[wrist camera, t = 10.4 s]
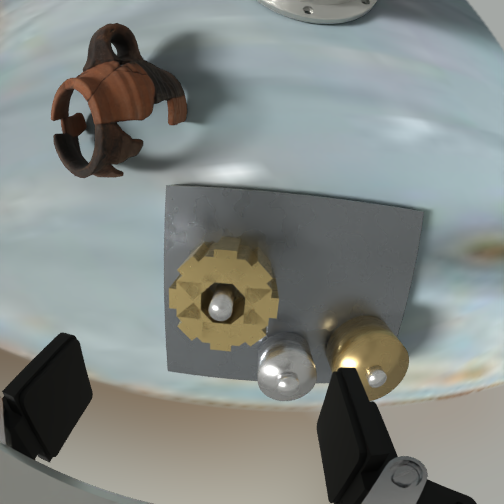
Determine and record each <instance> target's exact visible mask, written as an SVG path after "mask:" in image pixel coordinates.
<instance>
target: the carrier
mask: <svg viewBox="0 0 504 504" xmlns="http://www.w3.org/2000/svg"><path fill="white" fill-rule="evenodd" d="M423 215H424V212H422V211H418V210H414V209H408V208H401V207H395V206H388V205H382V204H375V203H368V202H361V201H353V200H345V199H338V198H329V197H321V196H312V195H303V194H293V193H283V192H272V191H261V190H248V189H235V188H221V187H204V186H185V185H166V202H165V231H164V302H165V331H166V350H167V365H168V371H171V372H178V373H185V374H192V375H200V376H208V377H217V378H227V379H238V380H251V381H258V385H259V388H260V390H261V391H262V392H263V393H264V394H265V395H266V396H268V397H270V398H272V399H275V400H279V401H290V400H295V399H298V398H301V397H303V396H304V395H306V394H307V393H308V392H310V391H311V390H312V388H313V387H314V385H315V383H330V379H331V376H332V373H333V372H334V371H337V370H338V368H340V367H355V368H356V370H357V372H358V374H359V377H360V379H361V382H362V384H363V386H364V389H365V391H366V394H367V396H368V399H369V401H372V400H376V399H378V398H381V397H383V396H385V395H386V394H388V393H389V392H391V391H392V390H393V389H394V388H395V387H396V386H397V385H398V384H399V383H400V382H401V381H402V379H403V378H404V376H405V374H406V372H407V369H408V365H409V356H408V352H407V350H406V348H405V347H404V346H403V345H402V343H401V342H400V341H399V340H398V338H397V336H398V332H399V329H400V325H401V322H402V318H403V314H404V311H405V307H406V303H407V299H408V295H409V290H410V286H411V282H412V277H413V272H414V268H415V263H416V258H417V252H418V247H419V241H420V235H421V228H422V222H423ZM221 237H232V238H241V244H240V245H247V246H249V247H250V249H251V250H252V251H254V250H255V249H256V248H257V247H259V249H260V250H261V251H262V252H263V253H264V254H265V256H266V257H267V258H268V259H269V260H270V263H271V269H272V276H273V278H276V283H277V289H278V295H279V304H278V312H277V318H269V321H268V326H266V336H264V337H263V338H262V339H260V340H259V341H257V342H256V343H255V344H253V345H252V346H249V345H248V344H247V343H246V342H244V343H243V344H241V345H240V346H233V345H232V346H231V351H221V350H211V349H210V343H204V342H202V341H201V340H199V339H198V338H197V337H196V338H195V339H193V340H191V339H189V338H188V337H187V336H186V335H185V334H184V333H183V332H182V331H181V330H180V329H179V328H178V324H179V322H180V319H179V318H178V317H177V309H172V308H169V288H170V286H171V285H172V284H173V282H174V281H175V280H176V279H177V277H178V276H179V275H180V273H179V272H178V271H177V269H178V268H179V267H180V266H181V265H182V263H183V262H184V261H185V260H186V259H187V258H188V257H189V255H190V254H191V253H192V252H194V251H195V250H196V249H197V248H198V247H199V246H200V245H202V244H203V243H205V244H206V245H207V246H208V247H210V246H211V245H212V244H213V243H218V242H219V240H220V239H221ZM210 289H211V290H212V292H213V293H214V295H213V298H212V300H211V303H210V306H209V314H210V316H211V317H212V318H213V319H215V320H217V321H225V320H227V319H228V318H229V317H230V316H231V313H232V308H233V303H234V301H235V300H236V299H238V298H239V297H240V296H242V295H243V294H242V293H241V292H240V291H239V290H238V289H237V288H236V287H235V286H234V285H233V284H226V283H215V282H214V283H213V284H212V285H211V286H210Z"/></svg>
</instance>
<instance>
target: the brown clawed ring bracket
mask: <svg viewBox="0 0 504 504" xmlns="http://www.w3.org/2000/svg"><path fill="white" fill-rule="evenodd" d="M111 43H112V44H113V45H114V46H115V48H116V50H117V55H116V54H115V53H114V52H113V50H112V47H111ZM74 89H76V90H78V91H79V92H80V93H81V94H82V95H83V96H84V98H85V99H86V100H87V102H88V105H89V107H90V110H91V113H92V117H93V121H94V124H95V147H94V152H93V156H92V159H91V161H90V162H89V163H88V162H87V161H86V160H85V159H84V157H83V156H82V154H81V151H80V146H79V141H78V136H79V135H80V134H81V133H82V132H83V131H84V130H85V129H86V128H87V125H86V122H85V119H84V116H83V114H82V113H76V114H75V115H73V116H69V113H68V111H69V103H70V98H71V95H72V93H73V91H74ZM164 100H167V104H168V124H169V125H177V124H178V123H181V122H184V121H185V120H186V115H187V103H186V98H185V93H184V91H183V88H182V86H181V84H180V82H179V81H178V80H177V79H176V78H175V76H173V75H172V74H171V73H169V72H167V71H165V70H162V69H160V68H158V67H156V66H155V65H153V64H151V63H148V62H147V61H145V60H144V59H143V58H142V56H141V55H140V52H139V49H138V44H137V41H136V39H135V36H134V34H133V33H132V32H131V30H130V29H129V28H127V27H126V26H124V25H121V24H118V23H115V24H107V25H105V26H104V27H102V28H100V29H99V30H97V31H96V32H95V33H94V35H93V36H92V38H91V41H90V44H89V49H88V58H87V62H86V64H85V66H84V68H83V73H81V74H80V75H78V76H77V77H76V78H70V79H67V80H66V81H65V82H63V84H62V85H61V86H60V87H59V89H58V90H57V92H56V94H55V97H54V100H53V104H52V110H51V120H53V121H55V120H59V119H61V127H62V131H63V134H55V135H54V145H55V149H56V151H57V153H58V156H59V158H60V160H61V161H62V163H63V164H64V166H65V167H66V168H67V169H68V170H69V171H70V172H71V173H72V174H74V175H75V176H78V177H80V178H86V177H88V176H90V175H95V176H97V177H120V176H123V172H122V171H119V170H117V169H115V168H114V167H113V166H112V165H111V164H118V163H122V162H124V161H125V160H127V159H128V158H130V157H134V156H136V155H137V154H138V153H139V152H140V150H141V148H142V146H143V140H141V139H132V138H131V136H129V135H128V134H127V133H125V132H124V131H123V130H122V129H121V127H120V126H119V125H118V124H117V122H119V121H128V120H144V119H145V118H147V117H148V116H150V114H151V113H152V111H153V105H154V104H157V103H159V102H161V101H164ZM68 116H69V117H68Z"/></svg>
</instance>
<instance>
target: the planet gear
mask: <svg viewBox="0 0 504 504" xmlns="http://www.w3.org/2000/svg"><path fill="white" fill-rule="evenodd" d="M240 244H241V238H232V237H221V239H220V240H219V242H218V243H213V244H212V245H211V246H210V247H208V246H207V245H206V244H205V243H203V244H202V245H200V246H199V247H198V248H197V249H196V250H195V251H194V252H192V253H191V254H190V255H189V257H188V258H187V259H186V260H185V261H184V262H183V263H182V265H181V266H180V267H179V268H178V269H177V271H178V272H179V273H180V275H179V276H178V277H177V279H176V280H175V281H174V282H173V284H172V285H171V286H170V288H169V308H172V309H177V317H178V318H179V319H180V322H179V324H178V328H179V329H180V330H181V331H182V332H183V333H184V334H185V335H186V336H187V337H188V338H189V339H191V340H193V339H195V338H196V337H197V338H198V339H199V340H201V341H202V342H204V343H210V349H211V350H221V351H231V346H232V345H233V346H240V345H241V344H243V343H244V342H246V343H247V344H248V345H249V346H252V345H253V344H255V343H256V342H257V341H259V340H260V339H262V338H263V337H264V336H266V326H268V321H269V318H277V312H278V304H279V295H278V289H277V283H276V278H273V276H272V269H271V263H270V260H269V259H268V258H267V257H266V256H265V254H264V253H263V252H262V251H261V250H260V249H259V247H257V248H256V249H255V250H254V251H252V250H251V249H250V247H249V246H247V245H240ZM214 282H215V283H226V284H233V285H234V286H235V287H236V288H237V289H238V290H239V291H240V292H241V293H242V294H243V295H242V296H240V297H239V298H238V299H236V300H235V301H234V303H233V308H232V313H231V316H230V317H229V318H228V319H227V320H225V321H217V320H215V319H213V318H212V317H211V316H210V314H209V306H210V303H211V300H212V298H213V295H214V293H213V292H212V290H211V289H210V286H211V285H212V284H213V283H214Z"/></svg>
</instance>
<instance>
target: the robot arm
mask: <svg viewBox="0 0 504 504" xmlns="http://www.w3.org/2000/svg"><path fill="white" fill-rule="evenodd" d="M257 1H258V2H259V3H261V4H262V5H263V6H265V7H267V8H269V9H270V10H272V11H274V12H276V13H279V14H281V15H284V16H286V17H289V18H292V19H296V20H300V21H304V22H311V23H317V24H335V23H344V22H348V21H352V20H355V19H357V18H359V17H361V16H363V15H365V14H366V13H367V12H368V11H369V10H371V9H372V7H373V6H374V4H375V3H376V2H377V0H257ZM307 13H308V14H307ZM2 392H3V394H4V397H3V398H1V397H0V504H153V503H148V502H144V501H141V500H137V499H133V498H129V497H126V496H123V495H119V494H116V493H113V492H110V491H107V490H104V489H101V488H98V487H96V486H93V485H90V484H87V483H85V482H82V481H79V480H77V479H75V478H72V477H70V476H67V475H65V474H63V473H60V472H58V471H56V470H54V469H51V468H49V467H47V466H45V465H43V464H41V463H39V462H37V461H35V458H36V456H37V455H38V457H40V458H41V459H43V460H46V461H48V462H50V461H51V459H52V458H53V457H56V456H57V455H58V453H59V451H60V450H61V448H62V446H63V444H64V443H65V441H66V440H67V438H68V436H69V435H70V433H71V431H72V429H73V428H74V427H75V425H76V423H77V422H78V420H79V418H80V417H81V415H82V414H83V412H84V411H85V409H86V408H87V406H88V404H89V403H90V401H91V399H92V395H93V394H92V389H91V385H90V382H89V378H88V375H87V371H86V367H85V363H84V359H83V355H82V351H81V346H80V343H79V341H78V340H77V339H76V337H75V336H74V335H70V334H66V333H60V334H59V335H58V336H57V337H55V338H54V339H53V340H52V341H51V342H50V343H49V344H48V345H47V346H46V347H45V348H44V349H43V350H42V351H41V352H40V353H39V354H38V355H37V356H36V357H35V358H34V359H33V360H32V361H31V362H30V363H29V364H28V365H27V366H26V367H25V368H24V369H23V370H22V371H21V372H20V373H19V374H18V375H17V376H16V377H15V379H14V380H13V381H12V382H11V383H10V384H9V385H8V386H7V387H6V388H5V389H4V390H3V391H2ZM317 434H318V440H319V445H320V451H321V457H322V463H323V468H324V475H325V481H326V487H327V493H328V499H329V502H330V503H334V504H476V502H475V501H474V500H473V499H472V498H471V497H469V496H467V495H464V494H462V493H459V492H456V491H454V490H451V489H449V488H446V487H444V486H441V485H439V484H437V483H434V482H432V481H430V480H427V476H428V475H427V469H426V468H425V466H424V465H423V464H422V463H421V462H420V461H419V460H417V459H415V458H412V457H409V456H401V457H398V456H397V454H396V451H395V449H394V446H393V444H392V441H391V438H390V436H389V434H388V431H387V429H386V426H385V424H384V421H383V419H382V416H381V414H380V412H379V409H378V407H377V405H376V403H375V402H370V401H369V399H368V396H367V394H366V391H365V389H364V386H363V384H362V382H361V379H360V377H359V374H358V372H357V370H356V368H355V367H340V368H338V370H337V371H334V372H333V373H332V376H331V379H330V383H329V386H328V390H327V393H326V396H325V400H324V403H323V406H322V409H321V412H320V415H319V419H318V422H317Z"/></svg>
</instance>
